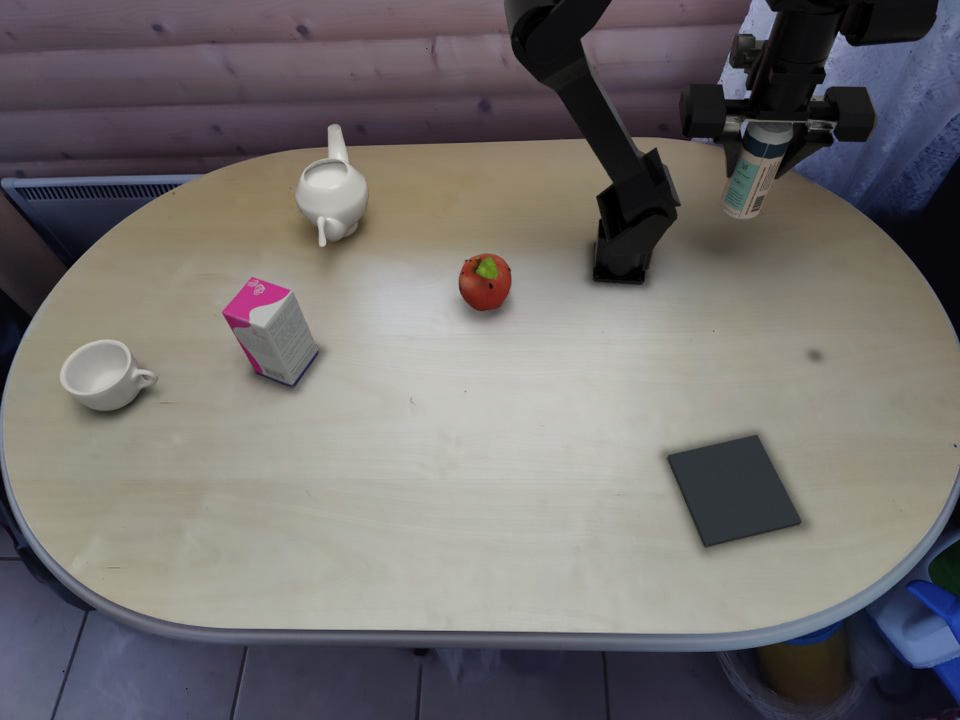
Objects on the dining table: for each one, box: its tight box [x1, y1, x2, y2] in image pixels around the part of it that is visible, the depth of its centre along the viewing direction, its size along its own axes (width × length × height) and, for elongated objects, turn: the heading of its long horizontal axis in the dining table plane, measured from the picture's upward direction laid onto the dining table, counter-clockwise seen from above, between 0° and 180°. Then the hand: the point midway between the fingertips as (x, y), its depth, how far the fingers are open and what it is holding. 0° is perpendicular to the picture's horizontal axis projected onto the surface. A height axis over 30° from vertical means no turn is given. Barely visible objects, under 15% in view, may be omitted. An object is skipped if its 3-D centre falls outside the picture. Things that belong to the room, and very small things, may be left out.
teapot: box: [294, 123, 370, 248], centre depth 91 cm, size 10×20×9 cm, turn 0°
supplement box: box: [221, 276, 319, 388], centre depth 77 cm, size 6×6×12 cm
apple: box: [458, 253, 513, 312], centre depth 81 cm, size 8×7×10 cm
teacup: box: [59, 339, 159, 412], centre depth 78 cm, size 10×8×5 cm
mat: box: [667, 434, 803, 547], centre depth 70 cm, size 10×10×1 cm
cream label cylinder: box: [719, 122, 794, 220], centre depth 76 cm, size 5×5×12 cm
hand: (751, 176), depth 77 cm, fingers closed on cream label cylinder, 5 cm apart
